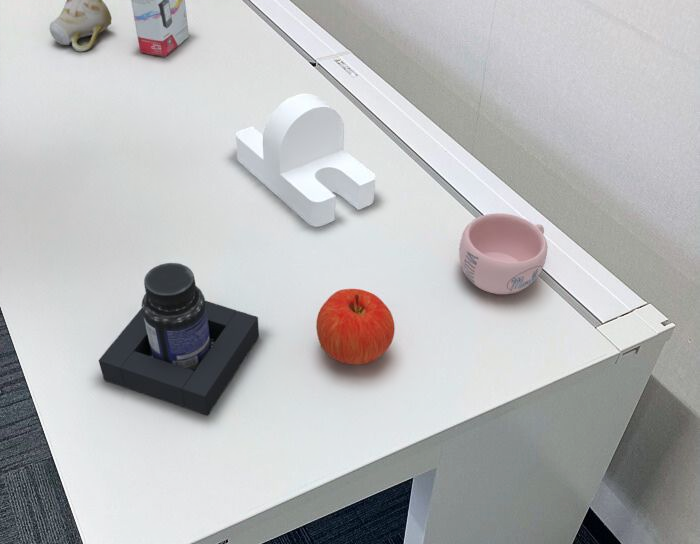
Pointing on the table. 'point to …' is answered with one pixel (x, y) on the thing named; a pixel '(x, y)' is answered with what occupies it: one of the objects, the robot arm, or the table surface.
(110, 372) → the socket pad
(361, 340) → the apple
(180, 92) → the table surface
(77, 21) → the mug
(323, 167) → the bracket
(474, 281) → the mug
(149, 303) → the pill bottle
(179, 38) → the ink box
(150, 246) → the table surface
